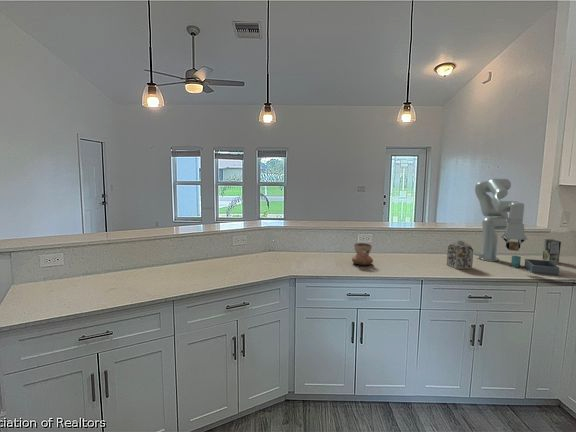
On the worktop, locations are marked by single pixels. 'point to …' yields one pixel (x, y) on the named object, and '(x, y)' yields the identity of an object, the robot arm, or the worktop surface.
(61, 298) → the worktop surface
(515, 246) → the walnut cube
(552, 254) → the coffee box
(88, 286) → the worktop surface
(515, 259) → the teal cylinder
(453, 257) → the decorative jar
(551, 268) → the tote
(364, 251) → the ceramic jug
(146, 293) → the worktop surface
